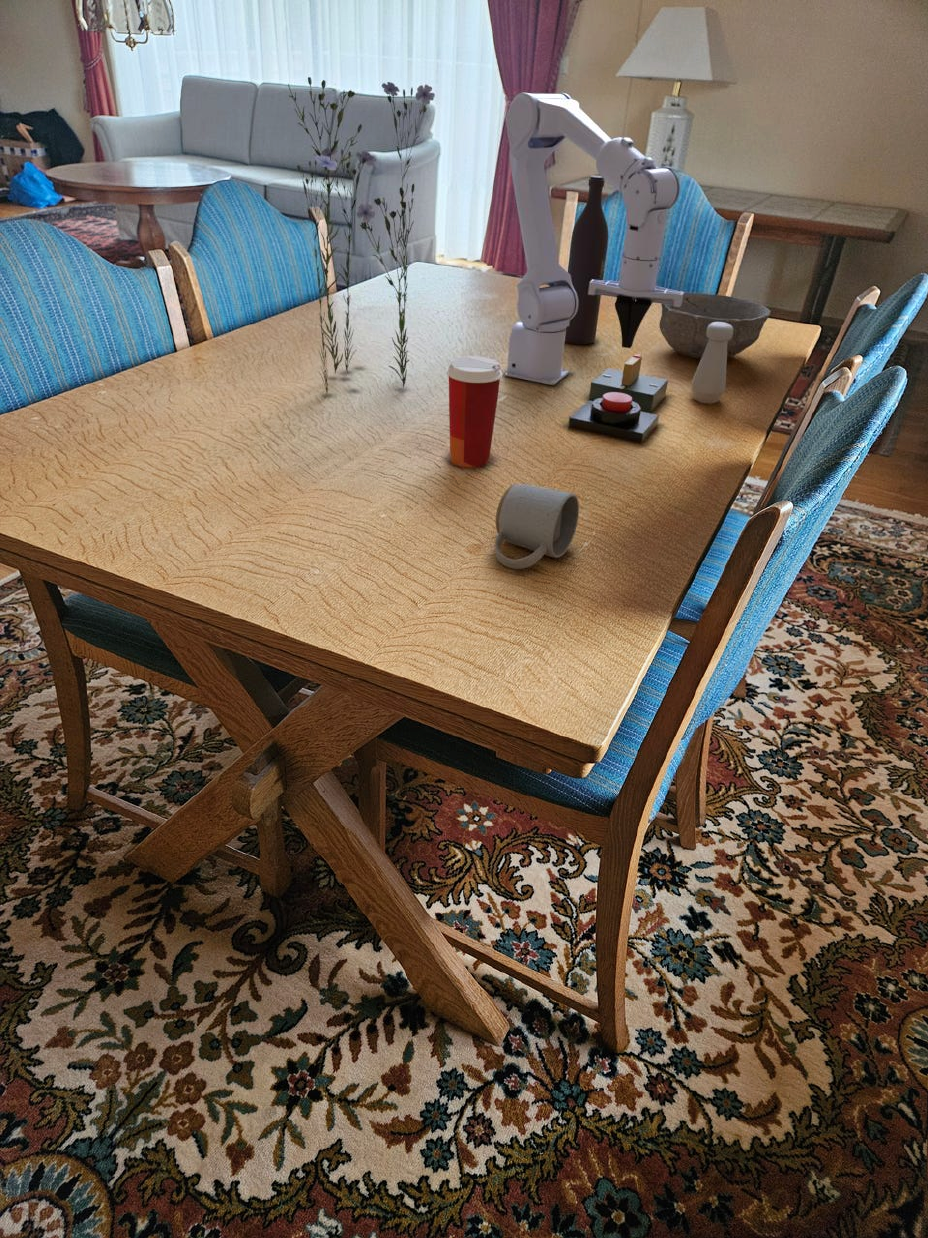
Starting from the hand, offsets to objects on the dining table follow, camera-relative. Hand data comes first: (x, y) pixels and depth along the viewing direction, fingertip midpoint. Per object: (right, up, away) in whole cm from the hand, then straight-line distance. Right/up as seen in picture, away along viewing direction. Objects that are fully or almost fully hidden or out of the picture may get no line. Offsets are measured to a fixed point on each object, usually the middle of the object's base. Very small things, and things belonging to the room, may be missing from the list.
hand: (627, 345), depth 139 cm
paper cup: (-26, -21, -14) cm, 36 cm away
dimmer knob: (+2, -3, +8) cm, 9 cm away
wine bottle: (-3, +13, +37) cm, 39 cm away
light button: (-2, -11, -3) cm, 11 cm away
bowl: (+21, +8, +32) cm, 39 cm away
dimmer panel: (+2, -6, +10) cm, 12 cm away
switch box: (-2, -13, -1) cm, 14 cm away
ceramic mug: (-18, -36, -36) cm, 54 cm away
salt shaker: (+16, -6, +11) cm, 20 cm away
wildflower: (-43, -4, +10) cm, 44 cm away
